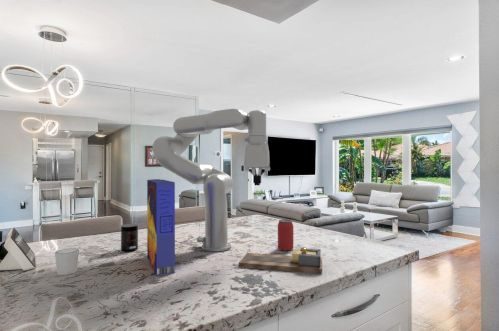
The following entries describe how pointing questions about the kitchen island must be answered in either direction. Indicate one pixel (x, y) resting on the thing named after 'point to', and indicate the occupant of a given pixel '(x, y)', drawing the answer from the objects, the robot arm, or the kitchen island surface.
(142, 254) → the kitchen island surface
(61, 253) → the white cup
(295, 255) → the bolt
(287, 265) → the door panel
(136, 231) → the supplement container
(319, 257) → the keeper
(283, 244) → the beer can
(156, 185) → the cereal box
